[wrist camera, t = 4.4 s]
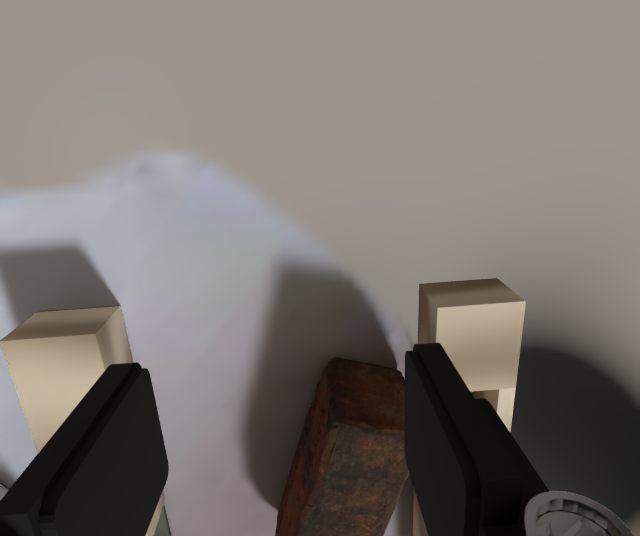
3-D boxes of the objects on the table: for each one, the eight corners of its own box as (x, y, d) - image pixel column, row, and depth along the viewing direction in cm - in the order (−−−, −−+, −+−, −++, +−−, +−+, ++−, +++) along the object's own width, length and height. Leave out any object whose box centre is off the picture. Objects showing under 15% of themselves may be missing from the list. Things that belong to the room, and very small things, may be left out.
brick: (321, 350, 20) (329, 417, 16) (401, 366, 21) (431, 434, 16) (272, 518, 23) (268, 611, 19) (342, 527, 24) (354, 621, 20)
